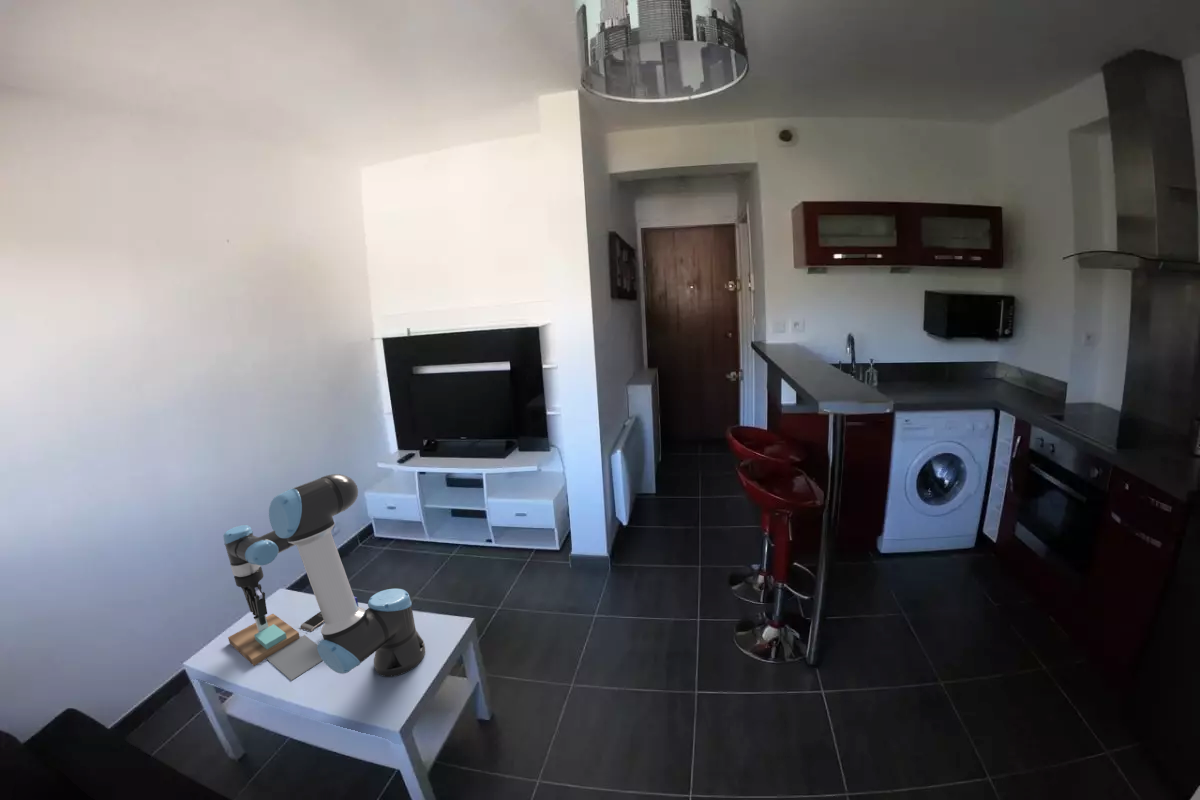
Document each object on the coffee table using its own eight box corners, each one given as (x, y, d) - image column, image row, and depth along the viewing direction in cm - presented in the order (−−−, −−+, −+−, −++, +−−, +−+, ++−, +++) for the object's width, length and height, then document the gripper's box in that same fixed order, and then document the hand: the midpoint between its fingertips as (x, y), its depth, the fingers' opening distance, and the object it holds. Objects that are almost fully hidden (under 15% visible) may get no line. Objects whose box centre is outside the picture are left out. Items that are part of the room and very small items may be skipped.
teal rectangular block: (286, 638, 159) (285, 632, 158) (267, 649, 154) (265, 644, 154) (275, 628, 164) (273, 624, 163) (255, 639, 159) (254, 634, 159)
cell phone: (339, 613, 175) (338, 610, 174) (311, 633, 165) (310, 629, 165) (328, 609, 177) (327, 606, 177) (299, 629, 168) (298, 625, 167)
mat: (331, 655, 153) (330, 654, 153) (291, 681, 144) (291, 680, 144) (304, 635, 163) (304, 635, 163) (266, 658, 154) (265, 657, 154)
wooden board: (300, 638, 162) (298, 632, 161) (253, 666, 151) (252, 659, 150) (274, 619, 173) (273, 613, 172) (229, 643, 162) (227, 637, 161)
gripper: (268, 570, 156) (284, 630, 161) (252, 560, 163) (267, 618, 168) (242, 582, 150) (259, 644, 155) (226, 571, 157) (243, 631, 162)
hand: (263, 631), depth 162 cm, fingers closed
